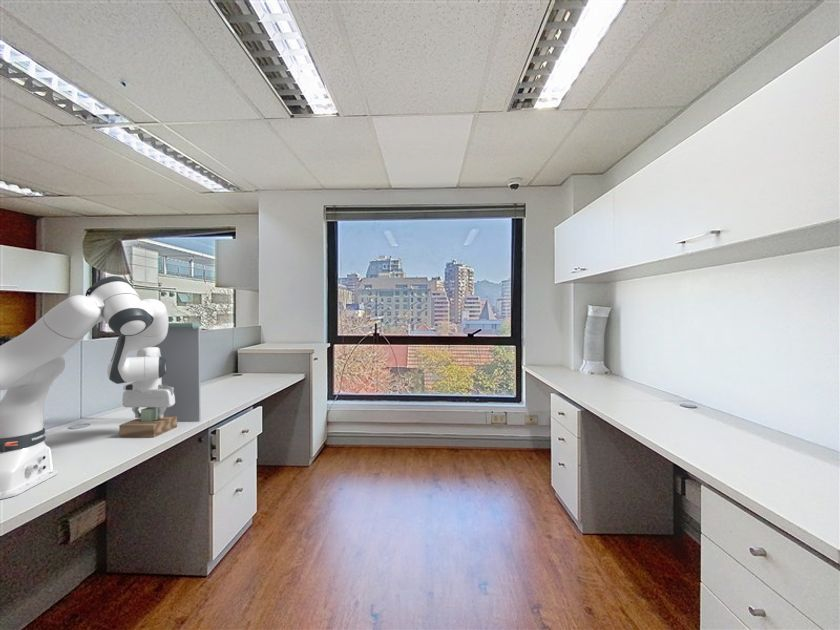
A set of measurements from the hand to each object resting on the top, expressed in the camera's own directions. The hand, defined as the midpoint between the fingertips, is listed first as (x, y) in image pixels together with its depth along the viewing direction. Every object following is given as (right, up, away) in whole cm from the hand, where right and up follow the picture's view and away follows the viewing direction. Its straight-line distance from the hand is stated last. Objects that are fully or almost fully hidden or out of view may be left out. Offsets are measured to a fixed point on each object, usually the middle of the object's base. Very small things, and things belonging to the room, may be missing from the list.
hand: (149, 417), depth 158 cm
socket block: (0, -6, 0) cm, 6 cm away
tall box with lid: (0, -6, +13) cm, 15 cm away
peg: (0, -6, 0) cm, 6 cm away
